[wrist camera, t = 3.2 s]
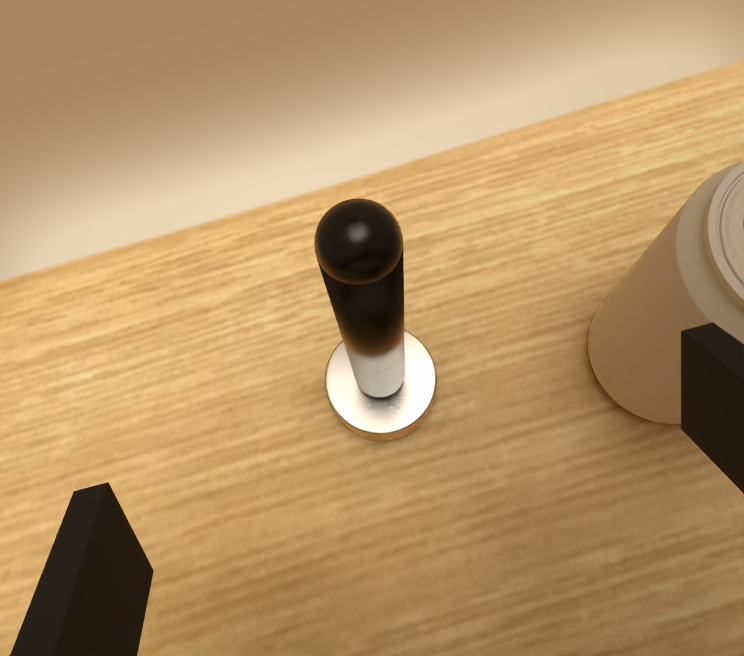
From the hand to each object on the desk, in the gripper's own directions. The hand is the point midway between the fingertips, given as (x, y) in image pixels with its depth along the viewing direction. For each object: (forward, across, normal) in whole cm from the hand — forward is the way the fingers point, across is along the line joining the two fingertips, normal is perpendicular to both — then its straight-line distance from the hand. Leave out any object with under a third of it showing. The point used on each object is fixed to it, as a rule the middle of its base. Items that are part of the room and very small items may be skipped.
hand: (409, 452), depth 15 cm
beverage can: (+12, +12, -8) cm, 18 cm away
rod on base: (+13, 0, -6) cm, 14 cm away
